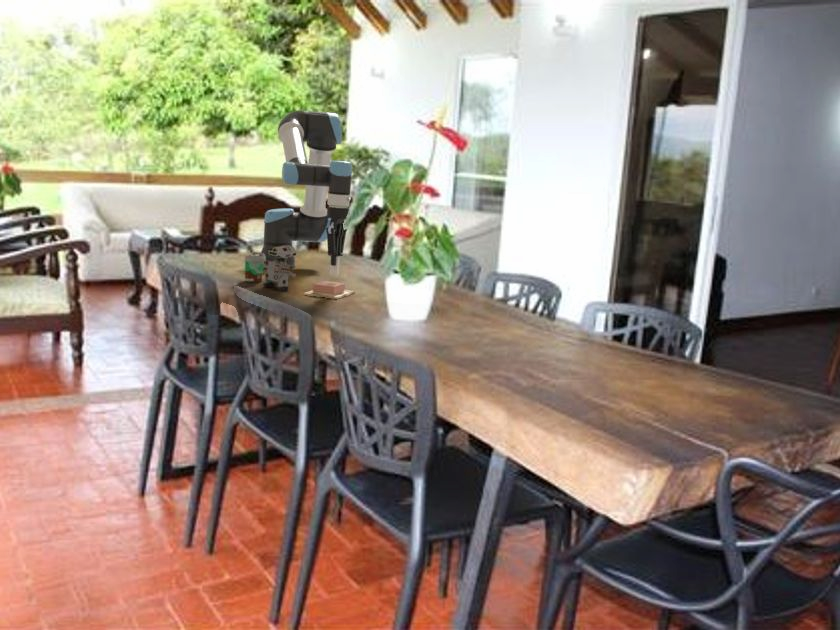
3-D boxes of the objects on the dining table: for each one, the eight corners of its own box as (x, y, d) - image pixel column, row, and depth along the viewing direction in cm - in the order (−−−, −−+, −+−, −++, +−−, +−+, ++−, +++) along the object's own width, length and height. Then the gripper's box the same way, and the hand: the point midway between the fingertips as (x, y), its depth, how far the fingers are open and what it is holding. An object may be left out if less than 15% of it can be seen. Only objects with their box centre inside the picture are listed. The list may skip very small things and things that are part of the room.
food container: (261, 285, 298) (262, 257, 296) (243, 283, 298) (245, 255, 296) (268, 279, 310) (269, 252, 308) (251, 278, 310) (252, 251, 308)
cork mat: (323, 288, 300) (323, 286, 300) (354, 293, 297) (354, 291, 296) (303, 295, 285) (303, 292, 285) (336, 299, 282) (336, 297, 281)
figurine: (301, 289, 296) (303, 247, 293) (275, 291, 287) (277, 248, 284) (285, 285, 302) (287, 243, 299) (259, 287, 293) (261, 244, 290)
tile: (324, 280, 295) (312, 283, 286) (344, 283, 292) (334, 286, 284) (323, 289, 295) (312, 292, 287) (344, 292, 293) (333, 295, 284)
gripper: (340, 208, 281) (336, 278, 285) (355, 206, 293) (351, 273, 297) (320, 206, 283) (316, 275, 288) (336, 204, 295) (332, 271, 300)
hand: (334, 274), depth 293 cm, fingers closed
